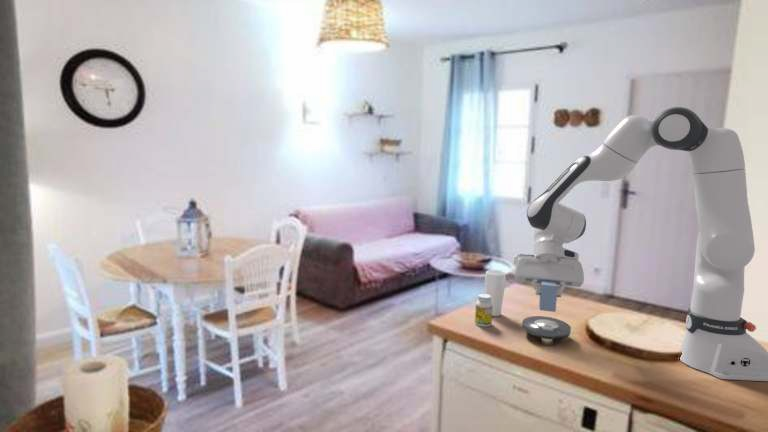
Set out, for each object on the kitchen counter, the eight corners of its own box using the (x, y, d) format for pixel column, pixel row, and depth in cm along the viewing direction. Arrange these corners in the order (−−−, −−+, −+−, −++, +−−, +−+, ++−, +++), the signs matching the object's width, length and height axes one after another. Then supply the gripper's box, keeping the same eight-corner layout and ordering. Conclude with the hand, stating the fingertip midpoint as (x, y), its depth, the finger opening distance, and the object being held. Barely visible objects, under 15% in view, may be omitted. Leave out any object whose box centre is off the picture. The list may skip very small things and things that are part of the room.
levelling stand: (566, 330, 147) (567, 316, 146) (572, 349, 134) (574, 334, 133) (520, 325, 150) (521, 312, 150) (522, 343, 137) (523, 328, 136)
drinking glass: (503, 318, 156) (506, 275, 154) (483, 316, 158) (485, 274, 155) (502, 311, 163) (505, 270, 161) (483, 309, 164) (485, 269, 162)
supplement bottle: (494, 325, 150) (496, 297, 149) (481, 328, 148) (482, 299, 146) (485, 319, 155) (486, 292, 153) (471, 321, 153) (473, 294, 151)
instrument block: (553, 306, 142) (556, 281, 141) (555, 311, 138) (557, 286, 137) (539, 305, 143) (541, 280, 142) (540, 310, 139) (542, 284, 138)
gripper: (515, 248, 147) (513, 286, 139) (583, 253, 142) (586, 294, 134) (513, 258, 152) (512, 296, 144) (580, 264, 147) (582, 303, 139)
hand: (548, 295), depth 139 cm, fingers closed on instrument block, 4 cm apart
